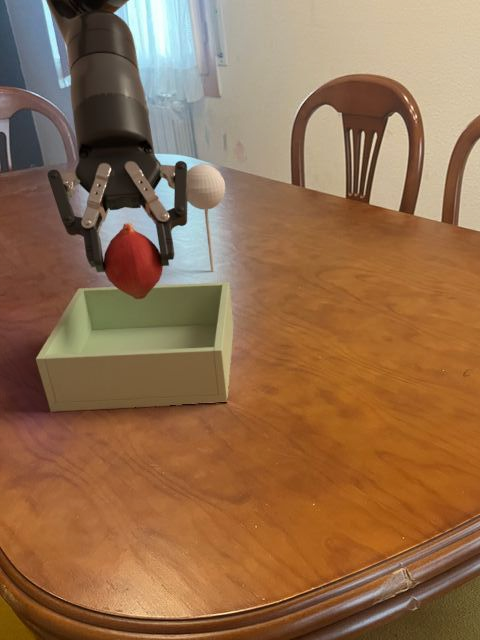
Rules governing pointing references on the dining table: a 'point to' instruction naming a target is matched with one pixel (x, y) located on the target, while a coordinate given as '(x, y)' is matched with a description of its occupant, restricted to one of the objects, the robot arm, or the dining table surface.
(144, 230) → the dining table surface
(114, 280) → the red kuri squash
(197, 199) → the lollipop
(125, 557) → the dining table surface
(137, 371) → the bin
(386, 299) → the dining table surface
